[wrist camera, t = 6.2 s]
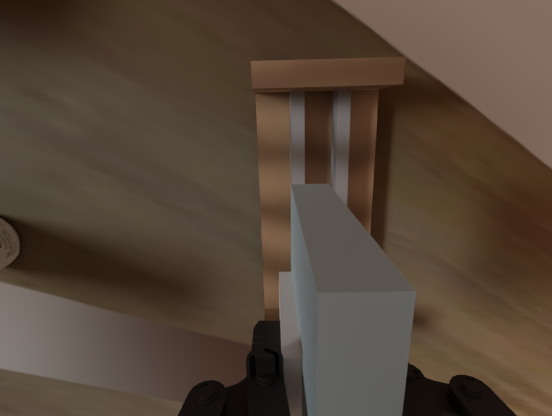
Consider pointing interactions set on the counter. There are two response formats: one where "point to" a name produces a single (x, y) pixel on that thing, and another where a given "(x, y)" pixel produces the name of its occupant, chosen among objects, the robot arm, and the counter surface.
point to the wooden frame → (314, 143)
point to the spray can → (8, 243)
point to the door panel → (347, 310)
